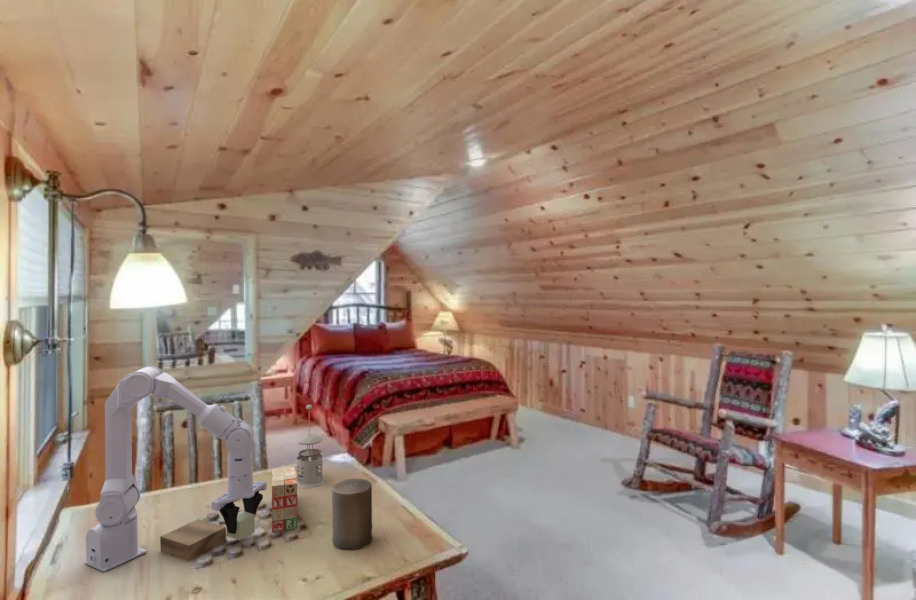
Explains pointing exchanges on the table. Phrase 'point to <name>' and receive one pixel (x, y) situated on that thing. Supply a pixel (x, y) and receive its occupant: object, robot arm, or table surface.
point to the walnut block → (193, 539)
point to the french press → (309, 468)
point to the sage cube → (244, 525)
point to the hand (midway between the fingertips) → (240, 528)
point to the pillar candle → (352, 513)
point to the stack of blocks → (284, 499)
